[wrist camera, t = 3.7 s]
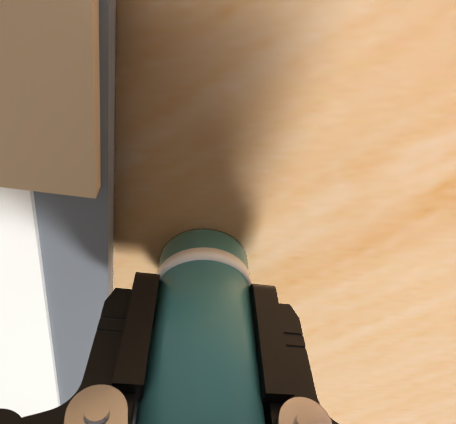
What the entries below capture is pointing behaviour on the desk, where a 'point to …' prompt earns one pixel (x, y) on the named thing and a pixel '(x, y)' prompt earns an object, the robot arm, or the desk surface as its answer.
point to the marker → (202, 336)
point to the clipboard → (54, 194)
